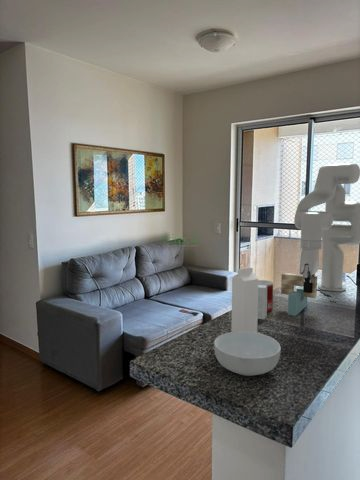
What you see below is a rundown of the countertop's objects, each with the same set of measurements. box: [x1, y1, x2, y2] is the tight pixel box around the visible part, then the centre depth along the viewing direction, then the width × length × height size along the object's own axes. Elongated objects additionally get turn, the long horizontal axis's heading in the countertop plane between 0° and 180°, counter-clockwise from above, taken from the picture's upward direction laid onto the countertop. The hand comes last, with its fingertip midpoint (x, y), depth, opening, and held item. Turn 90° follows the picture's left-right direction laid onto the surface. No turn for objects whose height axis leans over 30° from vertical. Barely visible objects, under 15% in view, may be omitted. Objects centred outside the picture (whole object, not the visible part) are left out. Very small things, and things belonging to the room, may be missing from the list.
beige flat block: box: [280, 272, 318, 299], centre depth 140 cm, size 13×3×8 cm, turn 56°
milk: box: [230, 267, 259, 333], centre depth 114 cm, size 6×6×22 cm
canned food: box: [258, 279, 274, 313], centre depth 141 cm, size 8×8×11 cm
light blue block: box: [287, 286, 308, 317], centre depth 141 cm, size 16×3×8 cm, turn 146°
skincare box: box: [258, 285, 268, 320], centre depth 132 cm, size 6×4×12 cm
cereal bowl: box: [213, 331, 282, 377], centre depth 92 cm, size 17×17×7 cm
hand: (309, 291), depth 138 cm, fingers closed on beige flat block, 3 cm apart
